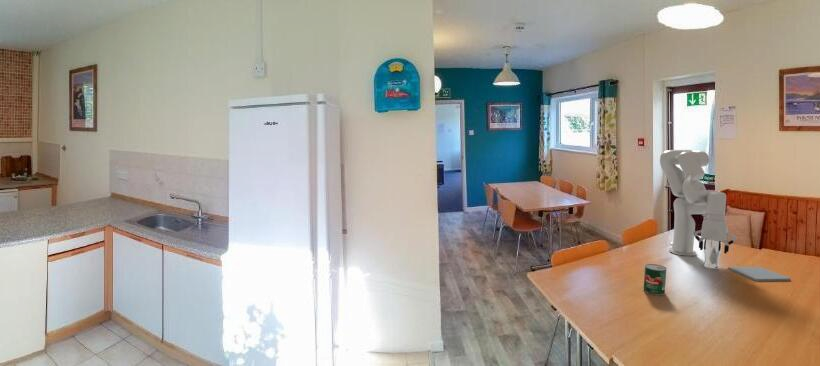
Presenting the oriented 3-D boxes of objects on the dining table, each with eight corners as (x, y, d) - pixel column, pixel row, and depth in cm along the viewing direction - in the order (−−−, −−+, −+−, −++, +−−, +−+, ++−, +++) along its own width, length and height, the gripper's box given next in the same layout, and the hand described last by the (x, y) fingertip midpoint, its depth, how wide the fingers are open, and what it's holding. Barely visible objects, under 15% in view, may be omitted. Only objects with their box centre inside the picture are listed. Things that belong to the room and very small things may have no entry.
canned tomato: (645, 294, 170) (646, 268, 169) (641, 287, 178) (643, 263, 176) (666, 296, 168) (668, 270, 166) (662, 289, 175) (664, 265, 174)
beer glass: (713, 265, 205) (716, 236, 203) (722, 269, 198) (725, 240, 196) (699, 264, 205) (701, 236, 203) (707, 269, 198) (710, 239, 197)
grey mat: (727, 269, 199) (727, 267, 198) (759, 268, 199) (760, 266, 199) (755, 281, 183) (755, 279, 183) (790, 280, 183) (790, 278, 183)
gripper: (692, 216, 202) (690, 249, 203) (736, 220, 189) (734, 256, 191) (695, 214, 207) (693, 246, 208) (738, 218, 195) (736, 253, 196)
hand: (713, 251), depth 200 cm, fingers open, 9 cm apart
